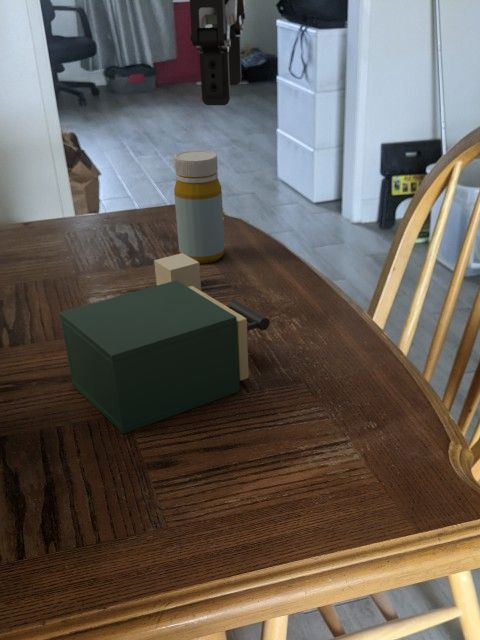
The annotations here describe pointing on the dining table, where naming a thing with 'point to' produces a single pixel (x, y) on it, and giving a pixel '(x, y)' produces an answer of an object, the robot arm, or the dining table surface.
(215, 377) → the cabinet
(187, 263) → the block
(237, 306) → the drawer
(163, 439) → the dining table surface
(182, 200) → the bottle
